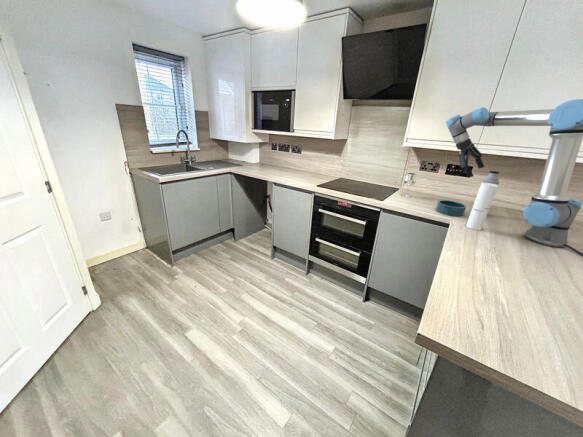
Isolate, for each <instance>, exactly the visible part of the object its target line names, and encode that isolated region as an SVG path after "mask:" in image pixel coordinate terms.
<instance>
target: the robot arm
mask: <svg viewBox="0 0 583 437" xmlns="http://www.w3.org/2000/svg"><path fill="white" fill-rule="evenodd" d="M445 124H446V126H447V129H448V132H449V133H450V136H451V137H452V140H453V142H454V144H455V146H456V147H455V148H456V149H457V150H459V152H457V155H458V160H459V167H460V169H463V170H464V172H465V175H466V176H467V178H473V177H474V173H473V172H472V169H471V166H469V157H470V156H471V157H473V158H475V159H474V161H475V163H476V166H477V167H478V169H482V168H485V164H484V163H483V160H482V157H483V154H482V152H481V151H480V150H479V149H478V148H477V147H476V146H475V144H474V143H473V142H472V139H471V138H470V135H469V133H468V131H467V130H468V129H469V128H471V127H475V126H476V127H550V129H549V133H548V137H549V138H551V143H550V146H549V150H548V154H547V159H546V161H545V165H544V168H543V172H542V176H541V180H540V184H539V187H538V190H537V193H536V194H534V195H532V196H531V199H530V203H529V204H528V205H527V206H526V207H525V208H524V209H523V212H522V213H523V218H524V220H525V221H526V222H527V223H528V224H530V225H531V226H530V227H529V228H528V229H527V230H526V231H525V233H524V237H525V238H526V239H528V240H530V241H531V242H534V243H537V244H540V245H544V246H547V247H553V248H565V247H566V248H567V249H570V250H571V251H573V252H574V253H577V254H579V255H581V256H582V257H583V252H581V251H579V250H578V249H576V248H574V247H572V246H570V245H568V237H569V230H570V228H571V226H572V225H573V223H574V221H575V219H576V217H577V215H578V213H579V211H580V210H581V209H582V205H583V202H582V201H581V200H578V199H574V198H569V197H568V196H567V195H566V194H567V191H568V188H569V184H570V181H571V178H572V176H573V175H572V174H573V172H574V169H575V165H576V162H577V159H578V155H579V153H580V149H581V146H582V142H583V98H576V99H575V98H574V99H571V100H567V101H564V102H562V103H560V104H558V105H557V106H556V107H554V108H550V109H549V108H548V109H547V108H545V109H529V110H526V109H525V110H506V111H489V110H488V108H486V107H485V106H483V107H480V108H476V109H474V110H473V111H471V112H469V113H466V114H464V115H463V116H461V114H456V115H454V116H452V117H450V118H448V119H447V120H446V121H445Z"/></svg>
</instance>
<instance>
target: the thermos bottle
mask: <svg viewBox="0 0 583 437" xmlns="http://www.w3.org/2000/svg"><path fill="white" fill-rule="evenodd" d="M500 173H501V172H499V171H495V170H489V173H488V175H486V176H485V177H484V179H482V182H481V183H491V184H496V185H498V186H499V184H500V181H499V180H500V177H499V175H500Z"/></svg>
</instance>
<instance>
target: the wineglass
mask: <svg viewBox="0 0 583 437" xmlns="http://www.w3.org/2000/svg"><path fill="white" fill-rule="evenodd" d="M416 181H417V175H416V173H413V172H407V173H406V175H405V177H404V180H403V182H404V184H405V186H406V187H407V188H406V193H405V194H401V197H404V198H411V195H409V194H408V193H409V188H410V187H411V186H414V185H415V184H416V183H417V182H416Z"/></svg>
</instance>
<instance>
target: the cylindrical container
mask: <svg viewBox="0 0 583 437" xmlns="http://www.w3.org/2000/svg"><path fill="white" fill-rule="evenodd" d="M498 188H499V184H498V185H496V184H491V183H482V182H481V183H480V186H479V189H478V192H477V194H476V196H475V199H474V202H473V205H472V208H471V211H470V214H469V217H468V219H467V221H466V222H467V223H466V225H465V226H466V227H467V228H468V229H470V230H476V231H482V229H483V227H484V224H485V222H486V219H487V217H488V214H489V211H490V208H491V206H492V203H493V201H494V199H495V196H496V193H497V191H498Z"/></svg>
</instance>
